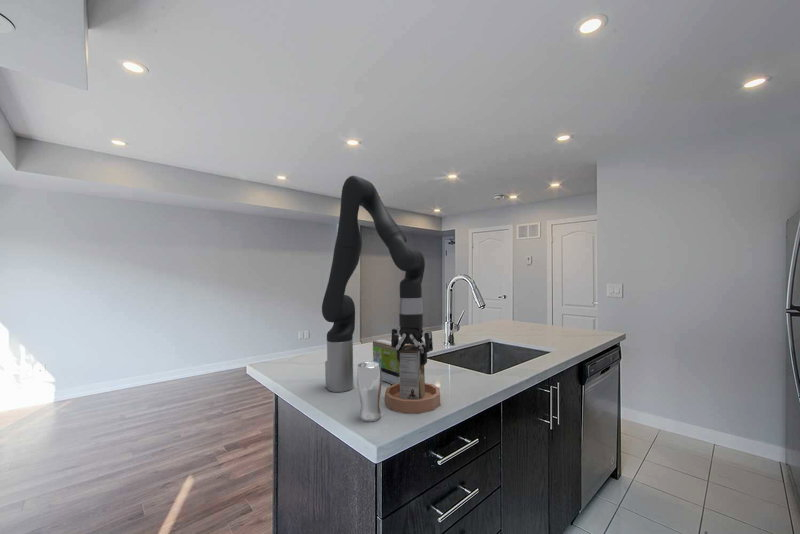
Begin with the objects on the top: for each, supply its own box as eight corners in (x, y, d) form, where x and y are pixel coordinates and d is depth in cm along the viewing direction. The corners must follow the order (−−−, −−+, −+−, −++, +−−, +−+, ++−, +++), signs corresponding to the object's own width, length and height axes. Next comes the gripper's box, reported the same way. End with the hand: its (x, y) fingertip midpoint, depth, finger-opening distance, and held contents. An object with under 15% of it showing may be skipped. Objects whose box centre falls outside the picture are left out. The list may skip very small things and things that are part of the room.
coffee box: (406, 392, 111) (405, 344, 111) (425, 394, 109) (424, 345, 109) (399, 403, 102) (398, 350, 102) (420, 405, 100) (418, 351, 100)
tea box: (372, 378, 130) (371, 340, 130) (391, 372, 137) (391, 336, 137) (398, 387, 119) (397, 346, 119) (417, 380, 126) (417, 341, 126)
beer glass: (358, 413, 98) (357, 361, 98) (382, 411, 98) (381, 360, 99) (357, 423, 91) (356, 368, 91) (383, 422, 91) (381, 367, 92)
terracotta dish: (374, 405, 103) (374, 393, 103) (405, 388, 117) (405, 378, 117) (421, 418, 93) (421, 405, 93) (449, 398, 107) (449, 387, 107)
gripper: (386, 311, 107) (386, 362, 107) (424, 314, 99) (424, 369, 98) (399, 309, 113) (400, 357, 113) (436, 311, 105) (437, 363, 105)
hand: (411, 363), depth 106 cm, fingers open, 8 cm apart
